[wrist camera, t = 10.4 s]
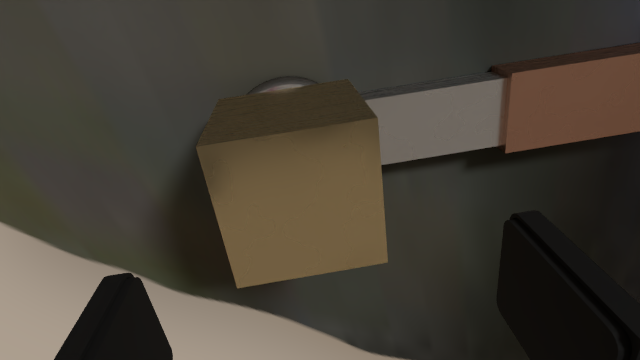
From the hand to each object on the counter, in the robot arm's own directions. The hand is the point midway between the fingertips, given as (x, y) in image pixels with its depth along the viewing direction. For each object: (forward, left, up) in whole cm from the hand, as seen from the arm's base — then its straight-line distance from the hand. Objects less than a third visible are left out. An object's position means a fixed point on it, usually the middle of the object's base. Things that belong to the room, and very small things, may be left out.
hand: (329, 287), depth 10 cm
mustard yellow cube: (0, 0, -10) cm, 10 cm away
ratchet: (-7, 0, -12) cm, 14 cm away
